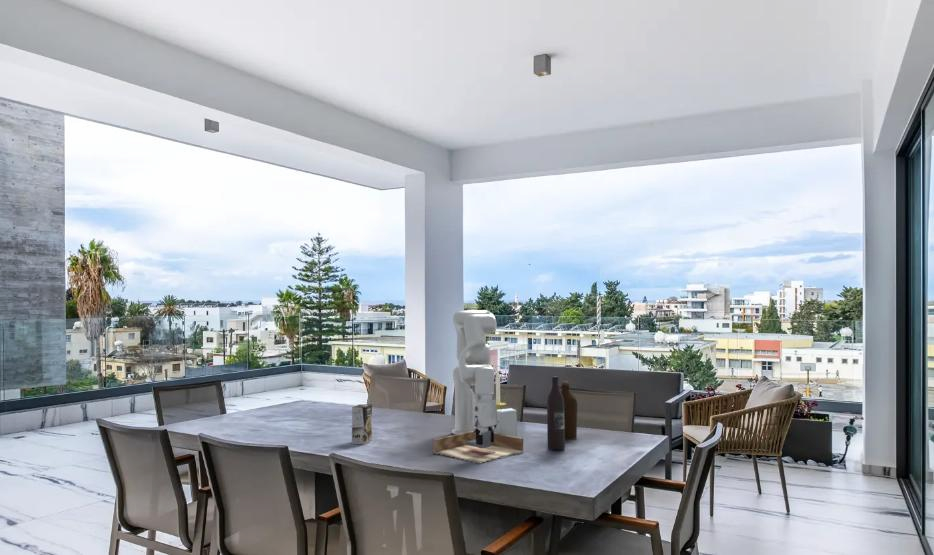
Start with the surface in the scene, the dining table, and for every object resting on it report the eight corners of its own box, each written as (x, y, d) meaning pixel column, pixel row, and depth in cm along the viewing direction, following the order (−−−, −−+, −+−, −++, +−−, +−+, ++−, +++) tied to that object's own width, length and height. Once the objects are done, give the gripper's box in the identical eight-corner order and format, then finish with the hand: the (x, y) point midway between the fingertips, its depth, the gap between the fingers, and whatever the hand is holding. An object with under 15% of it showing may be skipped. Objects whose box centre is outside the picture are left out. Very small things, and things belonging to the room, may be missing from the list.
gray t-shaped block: (491, 446, 254) (491, 430, 255) (481, 448, 250) (481, 433, 250) (475, 443, 260) (475, 428, 261) (465, 445, 256) (465, 430, 256)
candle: (487, 424, 320) (486, 370, 321) (489, 421, 330) (489, 368, 331) (507, 424, 318) (506, 370, 320) (509, 421, 328) (508, 369, 330)
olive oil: (569, 434, 294) (569, 379, 295) (582, 438, 284) (581, 382, 286) (549, 436, 290) (549, 381, 291) (562, 440, 280) (561, 383, 282)
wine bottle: (554, 451, 258) (553, 377, 260) (544, 448, 265) (543, 376, 266) (568, 450, 262) (567, 376, 263) (558, 446, 268) (557, 375, 269)
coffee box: (365, 444, 275) (365, 407, 275) (351, 444, 276) (351, 406, 277) (372, 440, 284) (372, 404, 284) (359, 439, 285) (359, 403, 286)
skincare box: (512, 442, 278) (511, 407, 279) (517, 444, 272) (517, 409, 273) (494, 443, 275) (494, 409, 276) (499, 446, 269) (499, 411, 270)
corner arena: (476, 443, 276) (476, 430, 277) (523, 452, 258) (523, 438, 259) (433, 453, 257) (433, 439, 258) (480, 463, 240) (480, 448, 240)
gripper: (477, 400, 245) (477, 448, 244) (505, 396, 257) (506, 441, 257) (462, 399, 250) (463, 445, 249) (491, 394, 263) (492, 438, 262)
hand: (485, 442), depth 253 cm, fingers closed on gray t-shaped block, 6 cm apart
